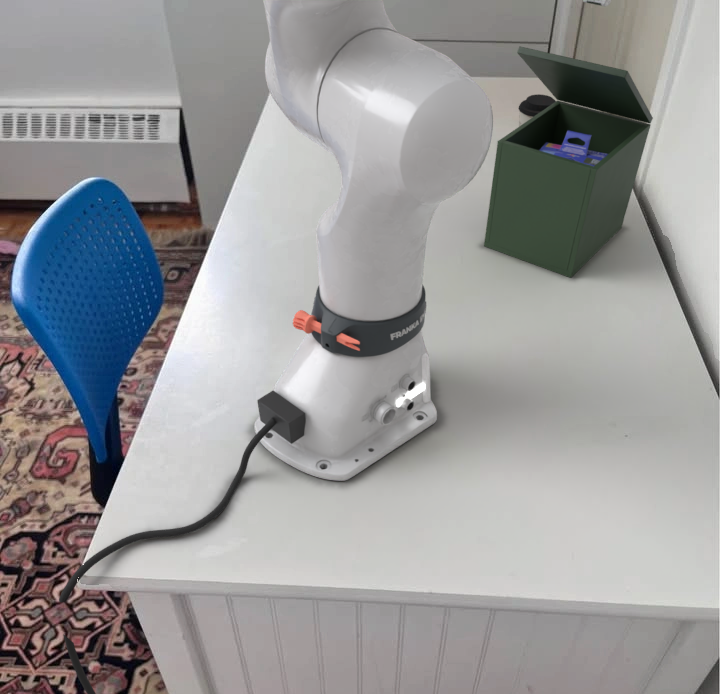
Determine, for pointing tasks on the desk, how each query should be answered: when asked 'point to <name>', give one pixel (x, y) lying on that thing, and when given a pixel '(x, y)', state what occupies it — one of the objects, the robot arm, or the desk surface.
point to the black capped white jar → (533, 106)
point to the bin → (562, 187)
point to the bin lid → (588, 84)
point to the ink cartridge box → (575, 149)
